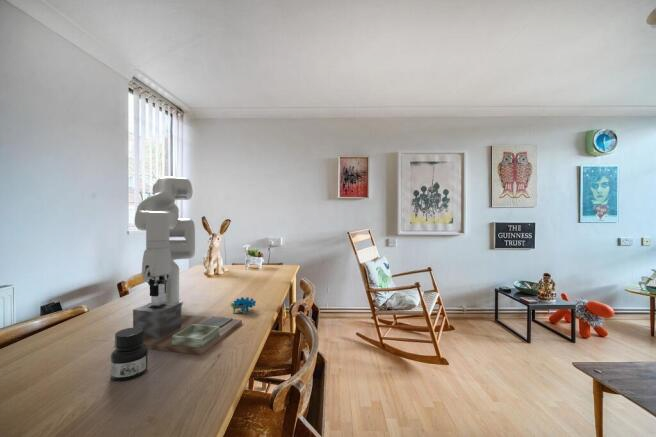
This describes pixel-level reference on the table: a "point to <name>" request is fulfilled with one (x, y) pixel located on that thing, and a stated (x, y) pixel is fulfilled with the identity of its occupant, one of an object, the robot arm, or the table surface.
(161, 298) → the grey capped block
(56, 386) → the table surface
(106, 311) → the table surface
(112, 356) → the ink bottle
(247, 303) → the blue lumpy piece
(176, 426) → the table surface
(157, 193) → the robot arm
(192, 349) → the workbench
